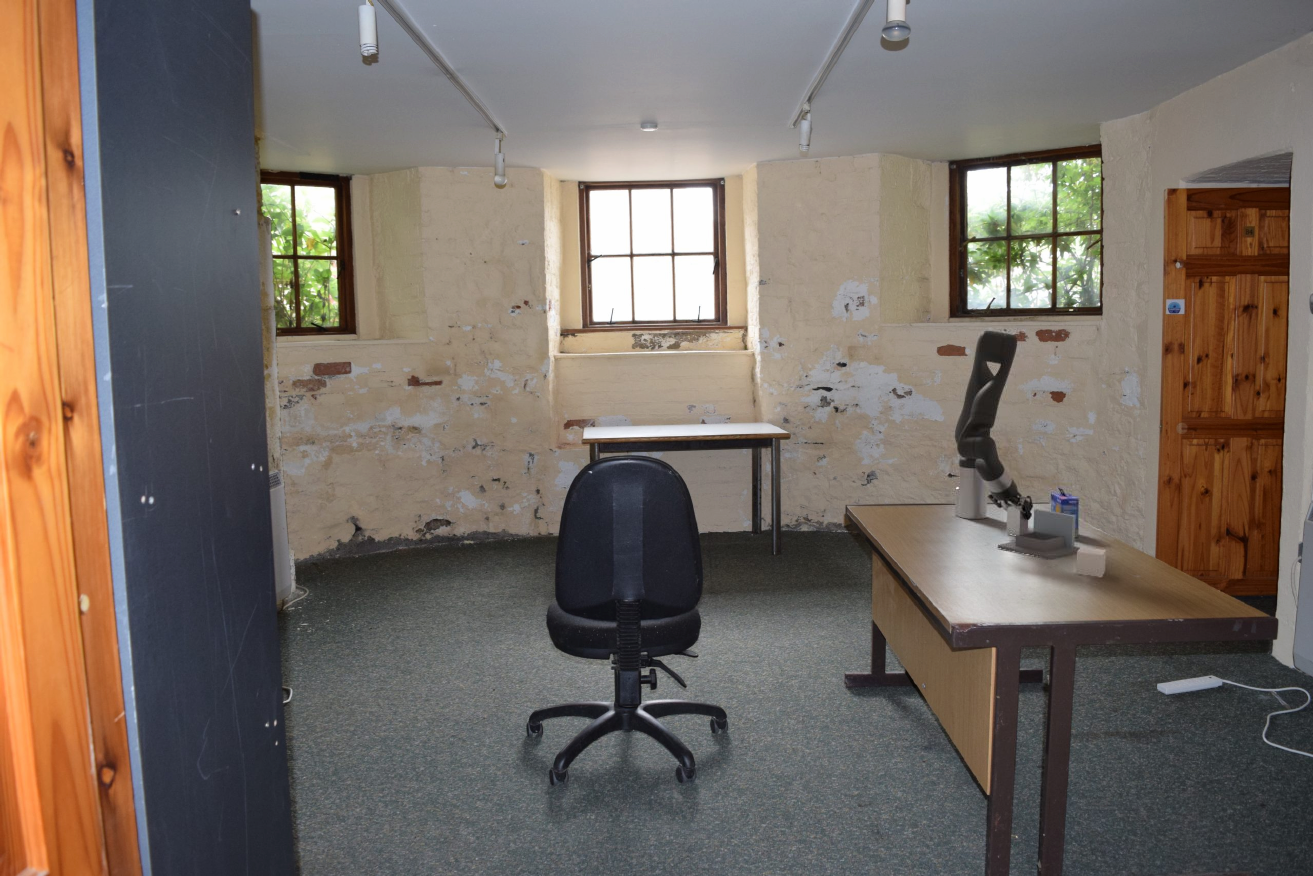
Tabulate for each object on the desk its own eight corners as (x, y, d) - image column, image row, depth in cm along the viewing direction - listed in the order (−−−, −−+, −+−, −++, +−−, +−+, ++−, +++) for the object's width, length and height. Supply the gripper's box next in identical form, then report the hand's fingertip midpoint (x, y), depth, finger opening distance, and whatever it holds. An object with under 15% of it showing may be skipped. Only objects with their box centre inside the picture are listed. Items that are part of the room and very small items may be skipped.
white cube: (1101, 578, 221) (1102, 555, 220) (1075, 574, 224) (1076, 551, 224) (1105, 572, 226) (1106, 549, 225) (1079, 569, 229) (1080, 547, 229)
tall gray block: (1006, 534, 270) (1007, 502, 268) (1014, 532, 272) (1016, 501, 271) (1019, 537, 266) (1020, 504, 265) (1027, 535, 268) (1028, 503, 267)
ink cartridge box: (1048, 530, 274) (1050, 485, 273) (1066, 530, 274) (1068, 485, 272) (1059, 537, 265) (1061, 490, 263) (1078, 538, 264) (1080, 490, 262)
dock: (997, 548, 252) (998, 514, 251) (1030, 540, 261) (1031, 508, 260) (1049, 559, 239) (1050, 524, 238) (1081, 551, 248) (1082, 516, 247)
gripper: (1026, 475, 257) (1048, 510, 265) (984, 469, 268) (1006, 503, 277) (1014, 494, 254) (1037, 529, 262) (972, 488, 266) (995, 521, 274)
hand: (1021, 516), depth 269 cm, fingers open, 4 cm apart
